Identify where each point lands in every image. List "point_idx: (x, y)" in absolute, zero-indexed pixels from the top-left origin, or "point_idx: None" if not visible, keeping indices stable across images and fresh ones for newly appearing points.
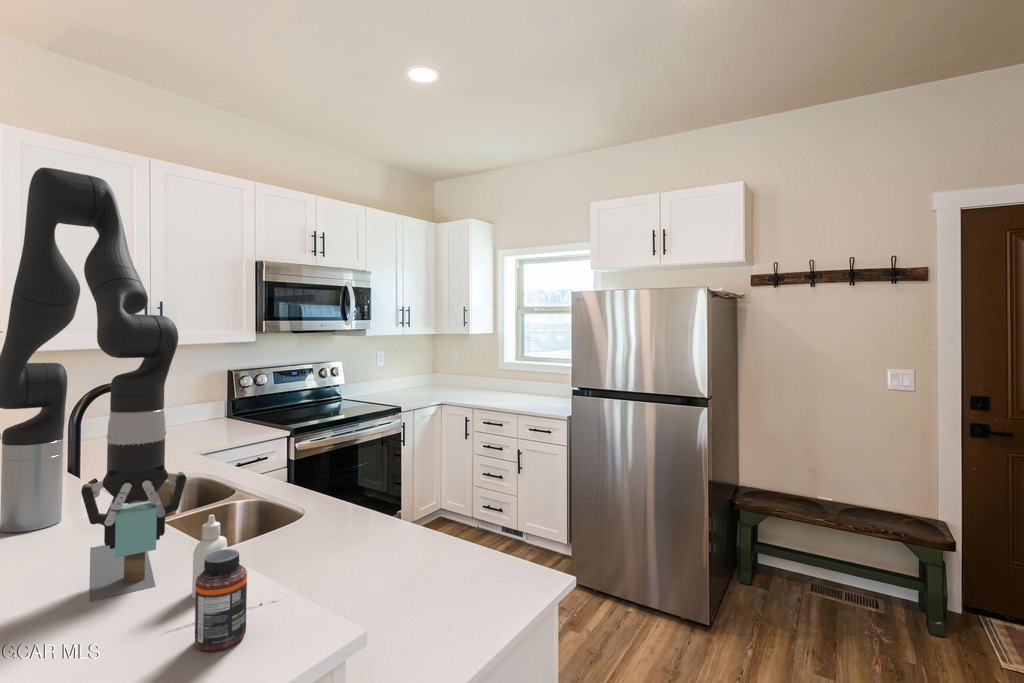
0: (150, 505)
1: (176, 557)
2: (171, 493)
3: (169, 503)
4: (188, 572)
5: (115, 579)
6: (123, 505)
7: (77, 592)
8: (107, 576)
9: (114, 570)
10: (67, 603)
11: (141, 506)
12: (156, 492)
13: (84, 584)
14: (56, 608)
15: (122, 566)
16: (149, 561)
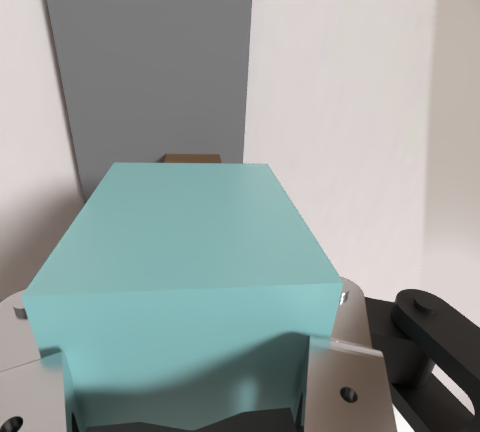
0: (287, 386)
1: (332, 42)
2: (478, 389)
3: (400, 358)
4: (322, 199)
5: (144, 151)
6: (98, 307)
7: (48, 162)
8: (118, 109)
9: (135, 62)
10: (40, 222)
11: (232, 386)
12: (388, 403)
13: (54, 107)
14: (20, 237)
15: (160, 36)
16: (247, 46)
